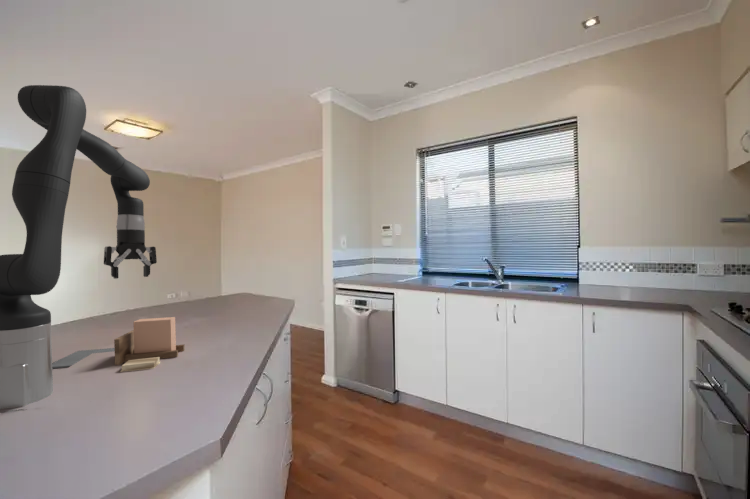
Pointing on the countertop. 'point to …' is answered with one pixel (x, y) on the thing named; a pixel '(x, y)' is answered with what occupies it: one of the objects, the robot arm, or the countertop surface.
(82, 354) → the mat
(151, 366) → the offcut upper
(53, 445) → the countertop surface
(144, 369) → the cream folded flat block
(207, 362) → the countertop surface
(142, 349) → the salmon pink block
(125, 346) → the rack
